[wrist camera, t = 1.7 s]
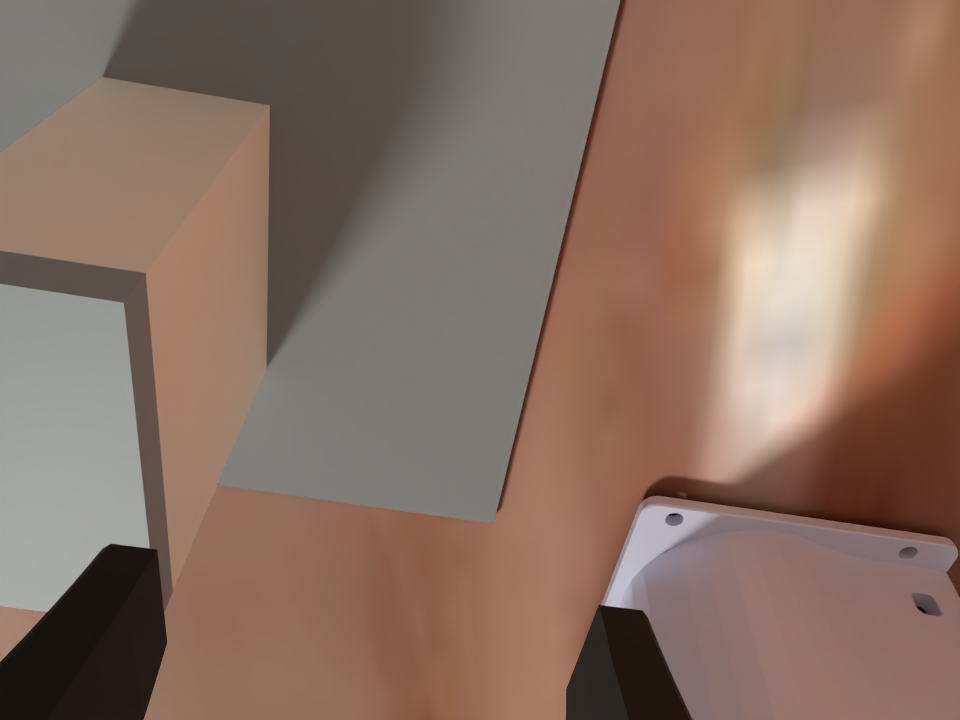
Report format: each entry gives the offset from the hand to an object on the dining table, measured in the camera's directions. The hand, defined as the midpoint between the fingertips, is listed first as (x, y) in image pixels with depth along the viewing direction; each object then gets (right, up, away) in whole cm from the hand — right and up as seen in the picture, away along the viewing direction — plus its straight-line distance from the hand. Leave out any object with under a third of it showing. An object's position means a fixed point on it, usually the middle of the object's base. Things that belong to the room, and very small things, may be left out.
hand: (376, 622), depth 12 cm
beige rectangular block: (-5, +6, +8) cm, 12 cm away
